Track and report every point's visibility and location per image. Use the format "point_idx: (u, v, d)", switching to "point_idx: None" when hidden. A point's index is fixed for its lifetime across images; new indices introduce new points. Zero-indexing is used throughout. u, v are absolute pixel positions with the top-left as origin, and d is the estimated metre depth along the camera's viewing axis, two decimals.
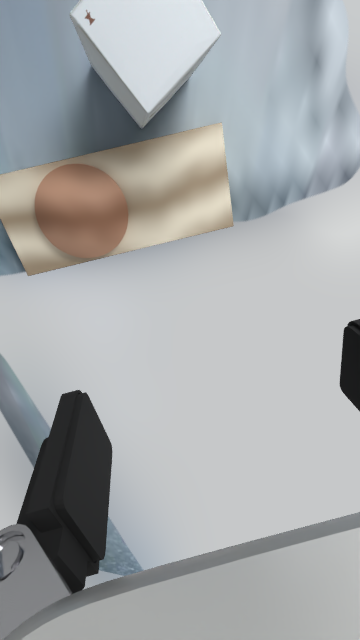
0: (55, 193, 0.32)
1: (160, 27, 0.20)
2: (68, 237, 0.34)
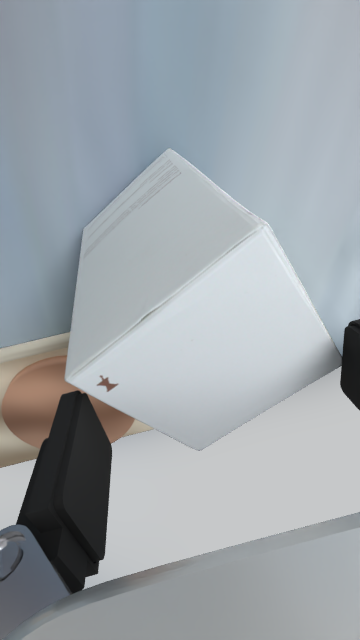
0: (31, 397, 0.22)
1: (243, 375, 0.10)
2: None
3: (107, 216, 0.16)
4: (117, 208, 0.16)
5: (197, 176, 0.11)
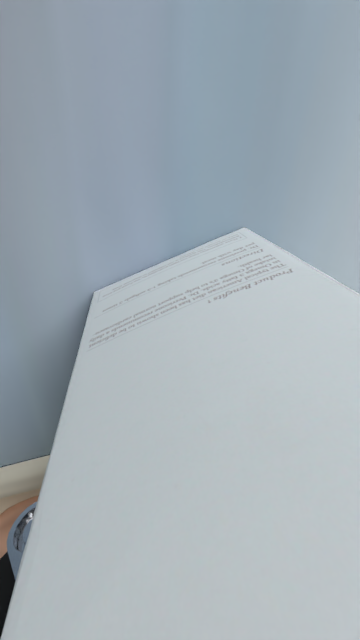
0: None
1: None
2: None
3: (140, 289, 0.11)
4: (160, 284, 0.10)
5: (345, 291, 0.07)
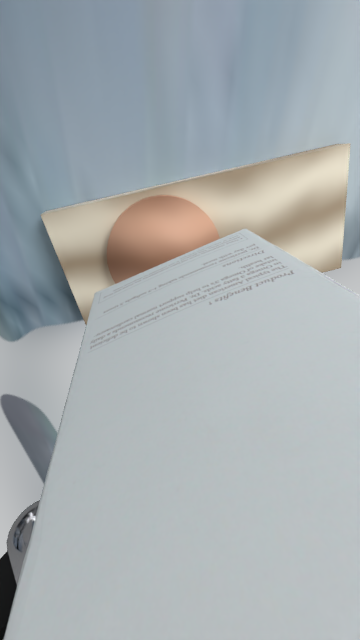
0: (134, 233, 0.25)
1: None
2: None
3: (141, 291, 0.11)
4: (161, 285, 0.10)
5: (346, 293, 0.07)
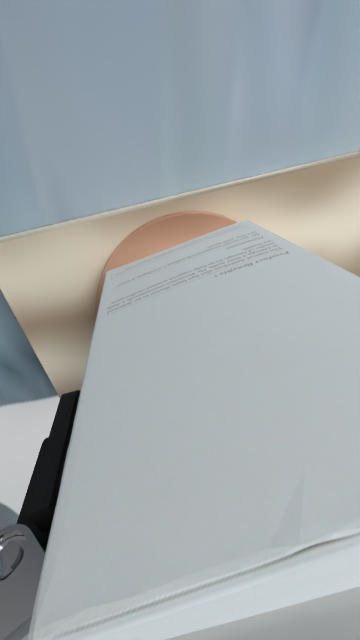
0: None
1: None
2: None
3: (152, 268, 0.12)
4: (170, 264, 0.12)
5: (331, 266, 0.08)
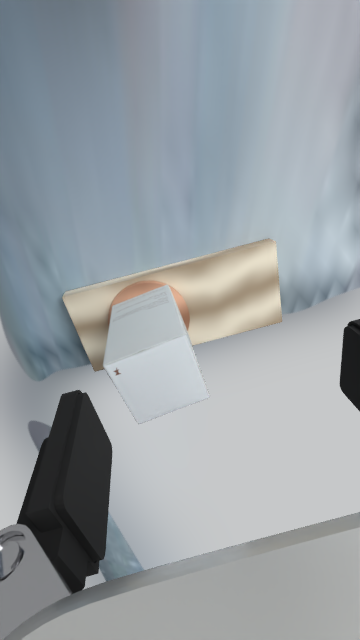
0: None
1: (167, 387, 0.26)
2: None
3: (129, 305, 0.33)
4: (135, 304, 0.33)
5: (173, 307, 0.29)
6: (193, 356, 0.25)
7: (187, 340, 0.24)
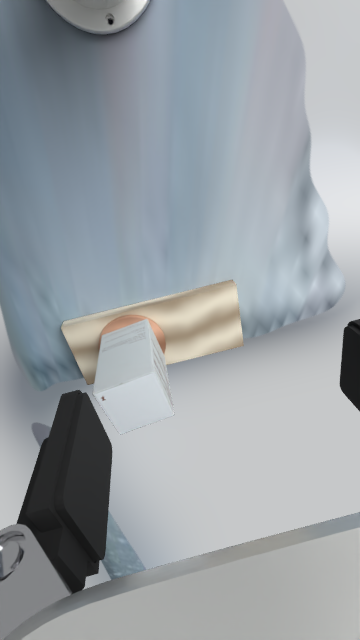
0: None
1: (141, 408, 0.34)
2: None
3: (115, 337, 0.41)
4: (120, 336, 0.41)
5: (148, 344, 0.37)
6: (160, 387, 0.33)
7: (155, 376, 0.33)
